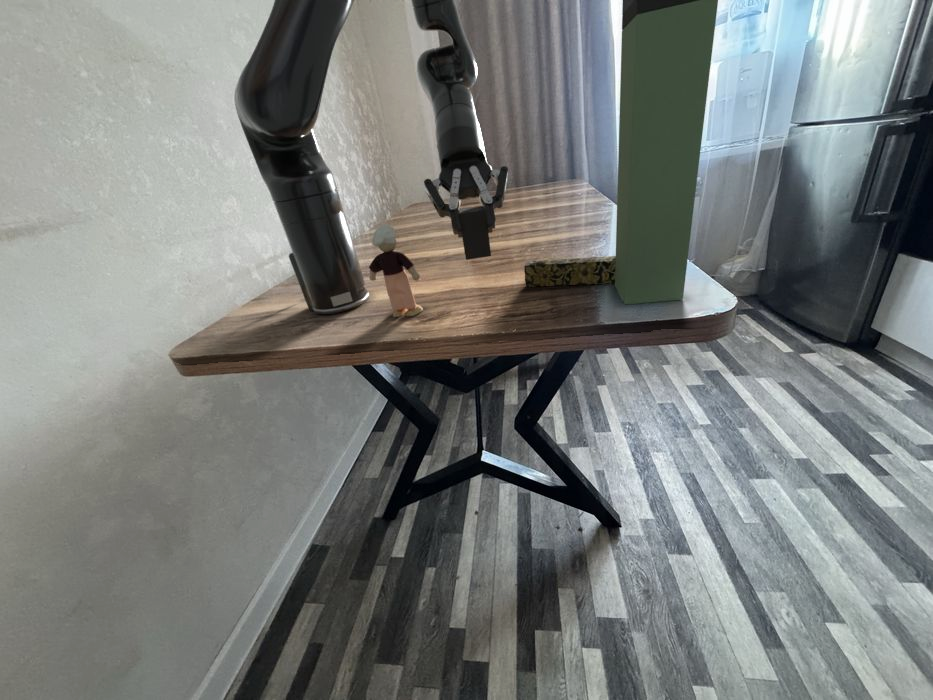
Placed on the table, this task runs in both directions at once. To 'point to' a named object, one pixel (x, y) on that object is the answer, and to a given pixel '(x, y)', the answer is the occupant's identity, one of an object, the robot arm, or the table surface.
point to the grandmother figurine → (394, 272)
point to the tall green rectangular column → (660, 142)
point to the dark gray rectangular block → (475, 232)
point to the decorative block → (570, 271)
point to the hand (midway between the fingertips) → (475, 231)
